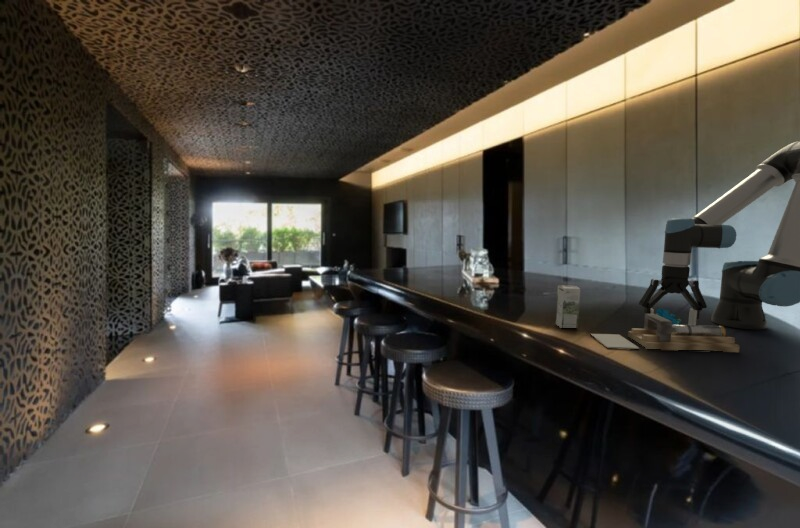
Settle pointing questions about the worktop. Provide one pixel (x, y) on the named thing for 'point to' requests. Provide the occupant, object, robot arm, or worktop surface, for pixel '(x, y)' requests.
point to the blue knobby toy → (668, 316)
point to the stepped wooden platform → (677, 337)
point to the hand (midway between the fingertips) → (670, 327)
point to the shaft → (698, 330)
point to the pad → (614, 341)
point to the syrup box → (567, 306)
